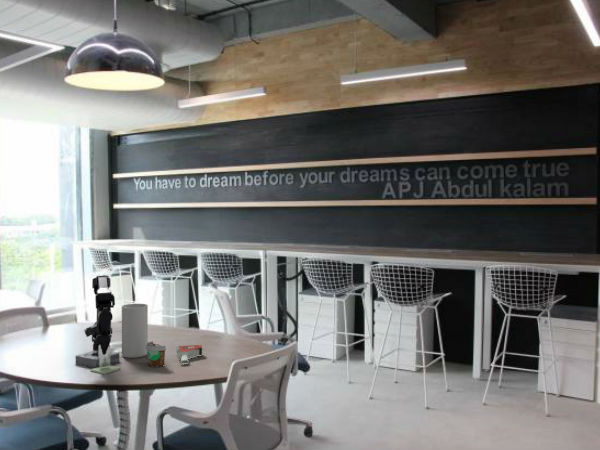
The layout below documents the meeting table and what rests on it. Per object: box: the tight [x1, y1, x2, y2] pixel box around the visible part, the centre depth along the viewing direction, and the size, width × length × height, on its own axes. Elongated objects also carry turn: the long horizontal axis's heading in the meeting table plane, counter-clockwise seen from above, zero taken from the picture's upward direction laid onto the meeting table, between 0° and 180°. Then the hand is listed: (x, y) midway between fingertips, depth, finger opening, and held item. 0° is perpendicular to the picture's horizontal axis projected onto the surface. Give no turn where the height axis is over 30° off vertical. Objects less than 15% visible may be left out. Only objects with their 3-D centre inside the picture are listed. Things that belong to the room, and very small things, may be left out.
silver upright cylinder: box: [99, 344, 111, 367], centre depth 257 cm, size 5×5×9 cm
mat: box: [90, 364, 121, 375], centre depth 257 cm, size 9×9×1 cm
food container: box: [146, 340, 167, 367], centre depth 265 cm, size 12×6×10 cm, turn 45°
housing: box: [75, 349, 120, 369], centre depth 269 cm, size 14×14×4 cm
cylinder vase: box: [121, 303, 149, 359], centre depth 283 cm, size 12×12×25 cm
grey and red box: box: [175, 344, 203, 364], centre depth 277 cm, size 18×5×20 cm
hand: (104, 353), depth 257 cm, fingers closed on silver upright cylinder, 5 cm apart
